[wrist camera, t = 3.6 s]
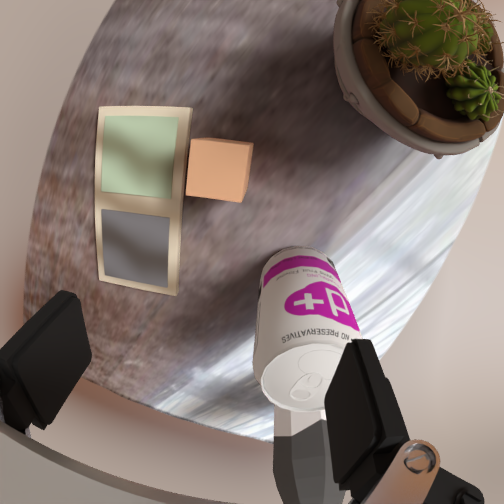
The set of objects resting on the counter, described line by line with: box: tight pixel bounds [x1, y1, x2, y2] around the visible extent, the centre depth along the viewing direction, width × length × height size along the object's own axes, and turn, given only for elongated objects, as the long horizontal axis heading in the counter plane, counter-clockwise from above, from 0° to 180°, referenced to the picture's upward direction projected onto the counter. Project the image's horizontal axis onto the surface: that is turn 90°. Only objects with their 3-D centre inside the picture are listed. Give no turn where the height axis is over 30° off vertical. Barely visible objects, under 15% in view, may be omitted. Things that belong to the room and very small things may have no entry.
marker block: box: [186, 137, 254, 203], centre depth 25 cm, size 4×4×6 cm
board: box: [95, 106, 193, 296], centre depth 30 cm, size 20×10×1 cm, turn 172°
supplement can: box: [253, 246, 363, 412], centre depth 25 cm, size 8×8×15 cm
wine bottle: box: [273, 405, 346, 504], centre depth 24 cm, size 8×8×30 cm
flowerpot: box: [333, 0, 504, 159], centre depth 14 cm, size 14×15×20 cm
